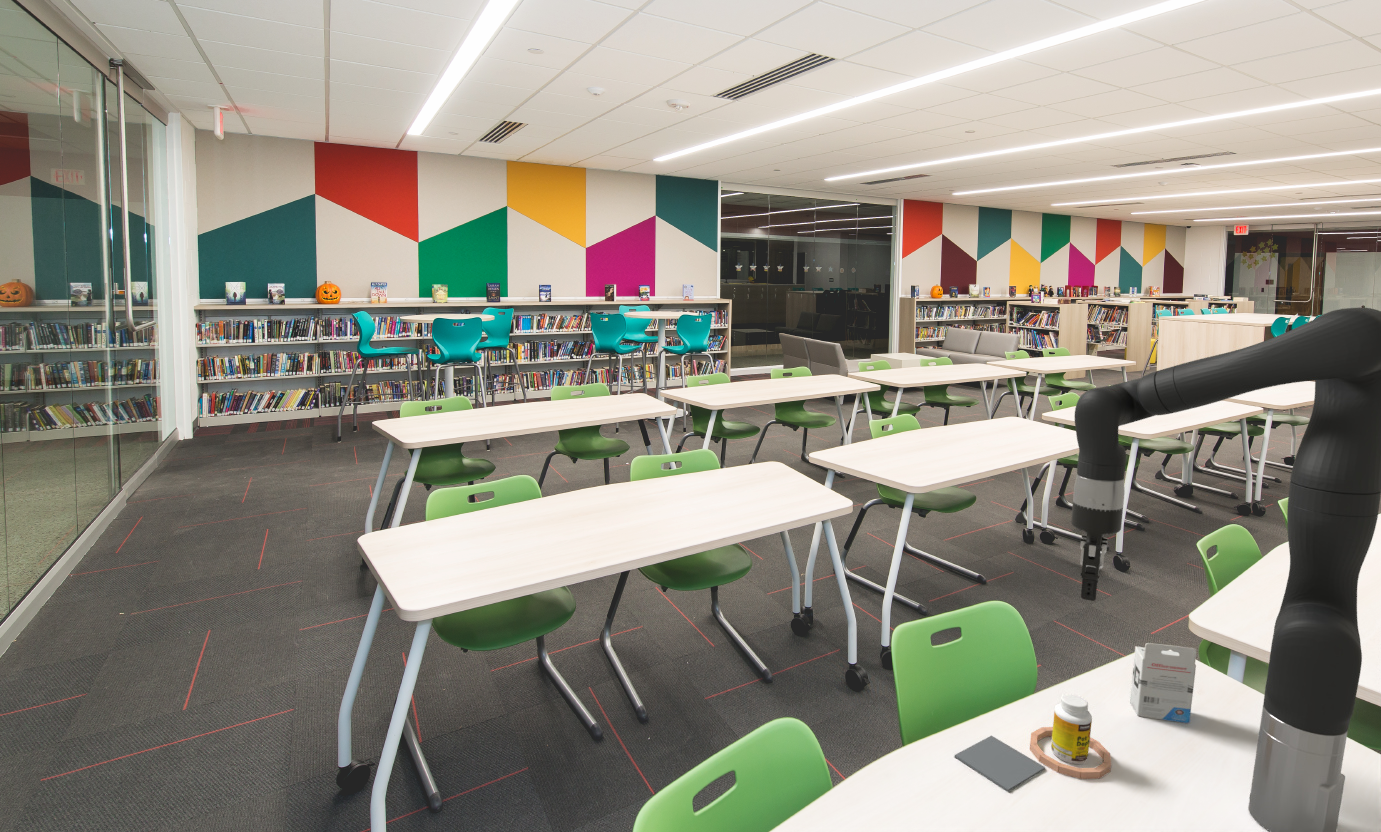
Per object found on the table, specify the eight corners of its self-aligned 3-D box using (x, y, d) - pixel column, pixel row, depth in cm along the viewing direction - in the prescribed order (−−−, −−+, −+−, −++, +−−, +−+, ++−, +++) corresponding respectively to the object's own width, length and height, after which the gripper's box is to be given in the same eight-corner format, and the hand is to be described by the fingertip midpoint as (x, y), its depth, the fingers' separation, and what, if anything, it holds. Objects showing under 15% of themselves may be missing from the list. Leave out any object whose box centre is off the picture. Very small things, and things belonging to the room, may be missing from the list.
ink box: (1180, 709, 131) (1188, 636, 129) (1190, 724, 127) (1199, 649, 124) (1128, 702, 134) (1136, 630, 131) (1136, 716, 129) (1144, 642, 127)
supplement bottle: (1076, 770, 115) (1082, 713, 113) (1044, 752, 119) (1048, 697, 118) (1094, 757, 118) (1100, 702, 116) (1061, 740, 122) (1066, 687, 121)
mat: (1045, 769, 115) (1045, 767, 115) (1007, 791, 110) (1008, 789, 110) (991, 737, 123) (991, 735, 123) (954, 757, 118) (954, 754, 118)
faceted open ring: (1124, 761, 117) (1125, 755, 116) (1084, 788, 110) (1085, 781, 110) (1055, 725, 127) (1056, 719, 126) (1015, 747, 120) (1015, 741, 120)
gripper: (1122, 516, 112) (1113, 610, 115) (1124, 494, 124) (1115, 581, 126) (1069, 509, 116) (1061, 600, 119) (1076, 489, 128) (1068, 572, 130)
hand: (1089, 590), depth 123 cm, fingers open, 8 cm apart
